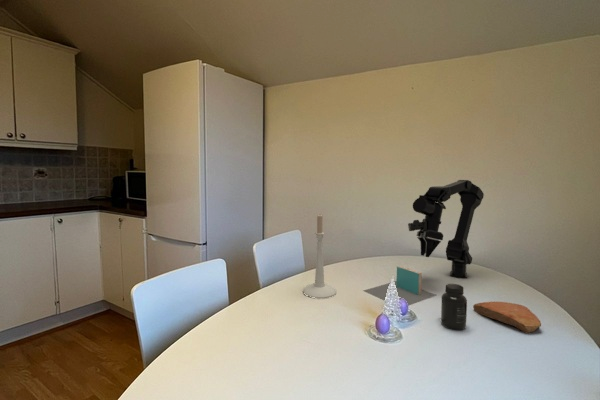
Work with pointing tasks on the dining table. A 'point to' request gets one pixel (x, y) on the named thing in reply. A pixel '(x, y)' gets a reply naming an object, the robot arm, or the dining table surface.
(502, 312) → the ceramic shard
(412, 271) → the tile
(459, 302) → the supplement bottle
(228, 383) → the dining table surface
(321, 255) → the candlestick
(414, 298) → the mat
